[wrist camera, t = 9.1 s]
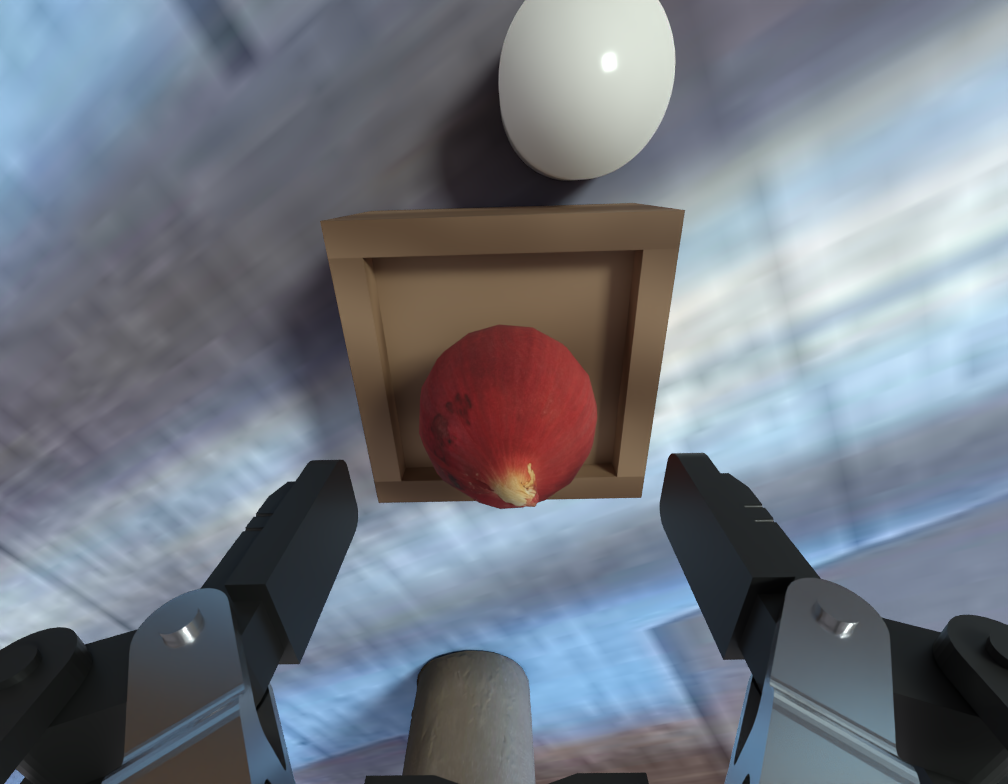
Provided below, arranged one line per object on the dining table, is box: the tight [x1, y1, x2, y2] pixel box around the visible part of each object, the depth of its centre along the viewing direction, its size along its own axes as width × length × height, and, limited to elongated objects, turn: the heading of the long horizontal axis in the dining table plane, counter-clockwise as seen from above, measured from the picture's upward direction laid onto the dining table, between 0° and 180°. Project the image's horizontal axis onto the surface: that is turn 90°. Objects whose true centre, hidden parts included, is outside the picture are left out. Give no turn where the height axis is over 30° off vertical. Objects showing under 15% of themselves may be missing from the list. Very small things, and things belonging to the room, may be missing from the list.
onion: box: [419, 324, 597, 509], centre depth 14 cm, size 6×6×8 cm
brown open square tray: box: [320, 203, 685, 503], centre depth 19 cm, size 12×12×6 cm
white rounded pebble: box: [498, 0, 675, 181], centre depth 16 cm, size 6×6×4 cm
